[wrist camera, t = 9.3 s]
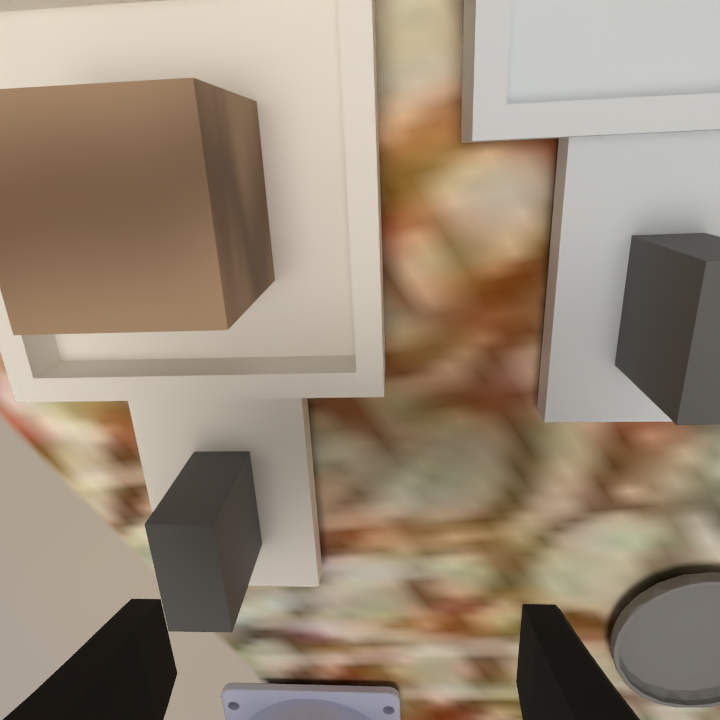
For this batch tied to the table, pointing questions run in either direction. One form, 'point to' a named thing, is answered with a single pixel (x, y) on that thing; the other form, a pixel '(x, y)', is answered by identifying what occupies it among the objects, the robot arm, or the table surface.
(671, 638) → the pocket watch
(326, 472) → the table surface
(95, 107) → the walnut cube
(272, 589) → the table surface
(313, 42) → the white tray
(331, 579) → the table surface
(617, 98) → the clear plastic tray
